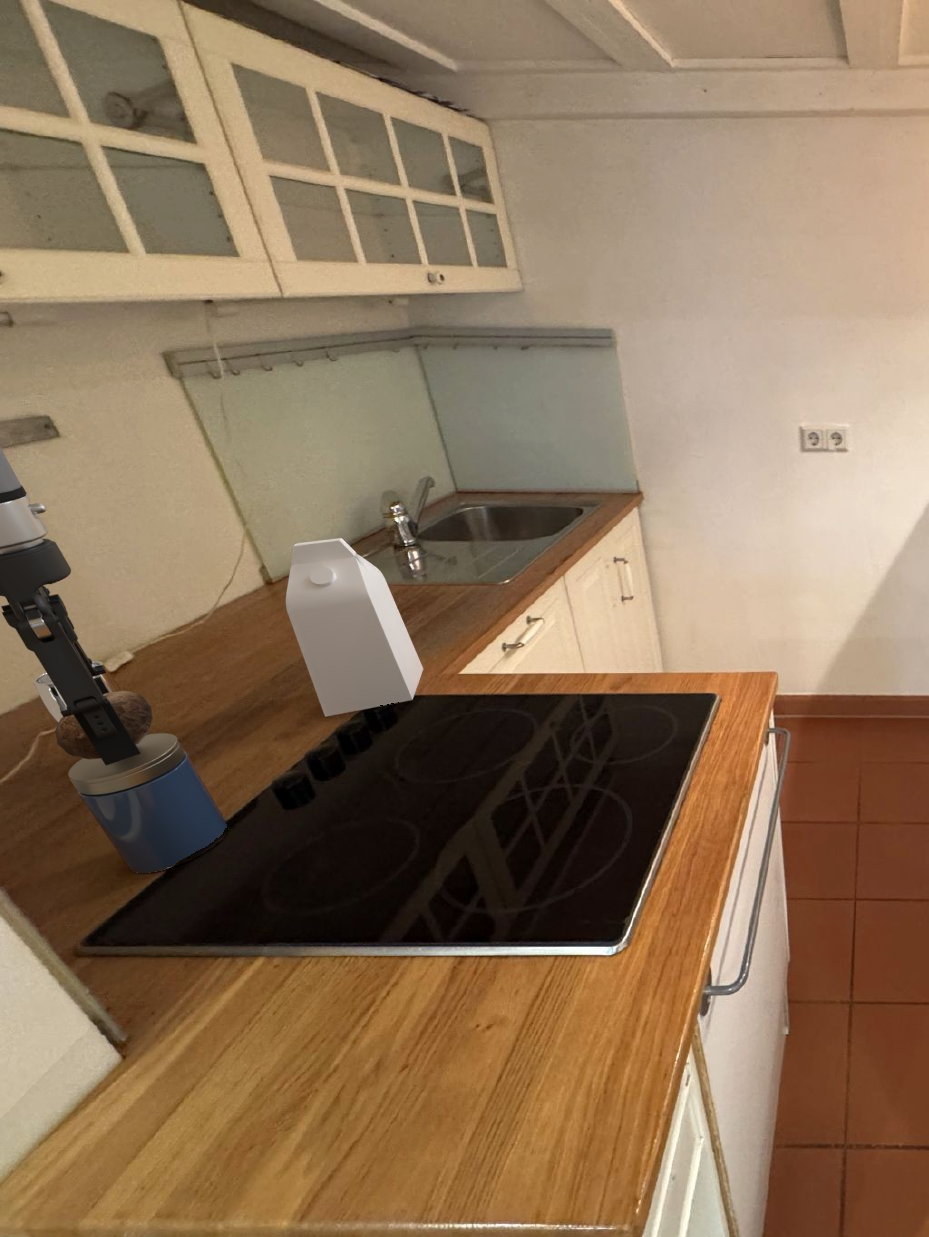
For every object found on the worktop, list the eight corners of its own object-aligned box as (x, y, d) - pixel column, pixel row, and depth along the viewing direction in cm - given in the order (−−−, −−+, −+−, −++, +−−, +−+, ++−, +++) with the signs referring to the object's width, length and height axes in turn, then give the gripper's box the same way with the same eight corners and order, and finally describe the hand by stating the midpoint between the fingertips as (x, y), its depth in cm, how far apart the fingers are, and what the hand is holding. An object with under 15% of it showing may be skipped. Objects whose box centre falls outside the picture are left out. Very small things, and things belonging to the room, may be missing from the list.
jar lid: (80, 806, 72) (70, 791, 72) (73, 774, 78) (63, 760, 77) (191, 765, 78) (183, 751, 78) (178, 738, 84) (170, 724, 83)
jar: (134, 886, 77) (73, 796, 72) (123, 850, 83) (66, 764, 77) (236, 841, 83) (187, 755, 78) (220, 811, 89) (173, 728, 83)
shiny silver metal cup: (161, 744, 103) (109, 655, 96) (154, 766, 98) (98, 673, 91) (96, 762, 99) (38, 670, 93) (85, 786, 94) (22, 690, 88)
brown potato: (140, 691, 81) (93, 669, 75) (193, 723, 80) (149, 703, 75) (74, 748, 77) (19, 730, 72) (128, 783, 76) (77, 766, 71)
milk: (423, 669, 122) (372, 526, 111) (412, 699, 113) (355, 547, 101) (343, 683, 118) (281, 537, 107) (325, 716, 109) (255, 559, 97)
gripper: (60, 556, 63) (179, 762, 73) (46, 520, 75) (149, 701, 85) (-69, 581, 58) (78, 799, 68) (-62, 538, 70) (62, 728, 80)
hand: (118, 744), depth 77 cm, fingers closed on brown potato, 7 cm apart
